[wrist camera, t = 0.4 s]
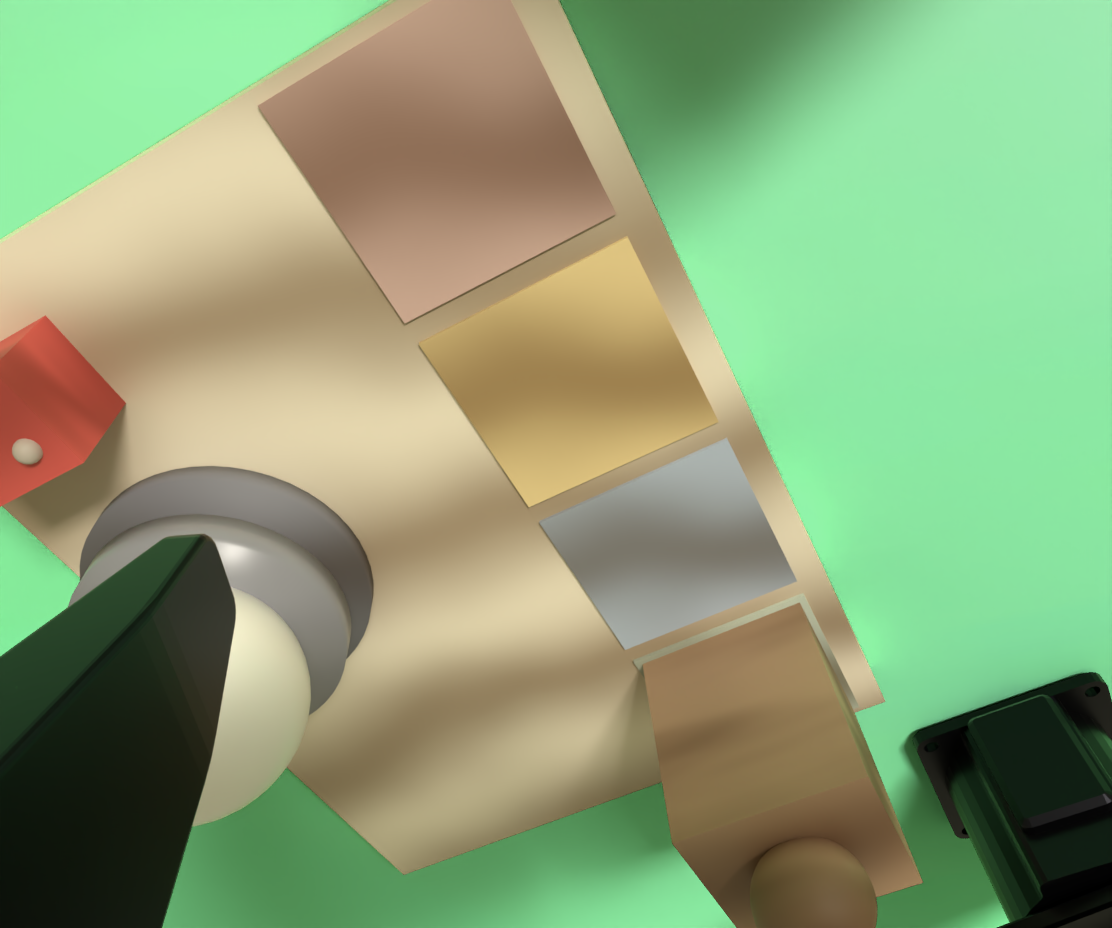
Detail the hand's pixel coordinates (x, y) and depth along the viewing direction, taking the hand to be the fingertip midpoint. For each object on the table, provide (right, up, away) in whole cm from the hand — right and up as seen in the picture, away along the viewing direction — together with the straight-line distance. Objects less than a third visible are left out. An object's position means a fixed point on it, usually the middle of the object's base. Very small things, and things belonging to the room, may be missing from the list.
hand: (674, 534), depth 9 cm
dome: (-10, -3, +15) cm, 18 cm away
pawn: (+5, -6, +19) cm, 21 cm away
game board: (-4, -1, +17) cm, 18 cm away
